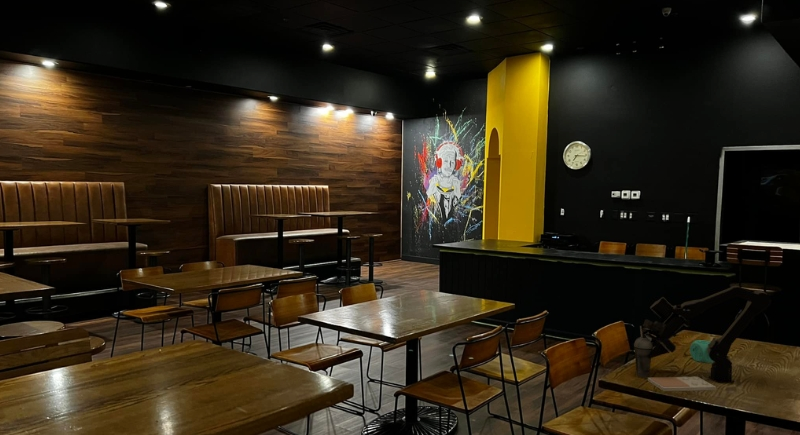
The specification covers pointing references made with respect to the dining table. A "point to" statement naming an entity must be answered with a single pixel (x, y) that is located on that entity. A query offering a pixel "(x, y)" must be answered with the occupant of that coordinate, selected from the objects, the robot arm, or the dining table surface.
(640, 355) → the beverage cup
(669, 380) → the baseplate
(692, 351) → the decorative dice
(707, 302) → the robot arm
